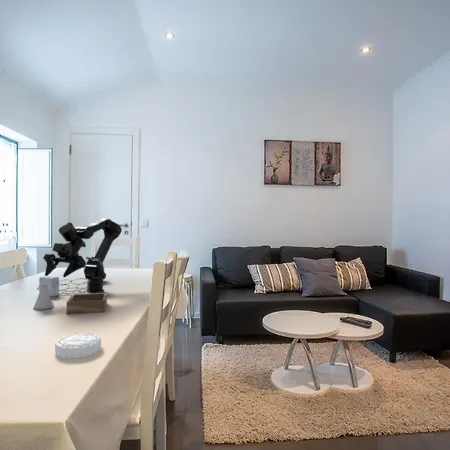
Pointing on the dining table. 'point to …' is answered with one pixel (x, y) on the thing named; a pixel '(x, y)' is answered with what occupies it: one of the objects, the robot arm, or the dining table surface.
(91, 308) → the walled box
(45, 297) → the flask
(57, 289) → the medicine box
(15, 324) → the dining table surface
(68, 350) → the mooncake
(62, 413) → the dining table surface
